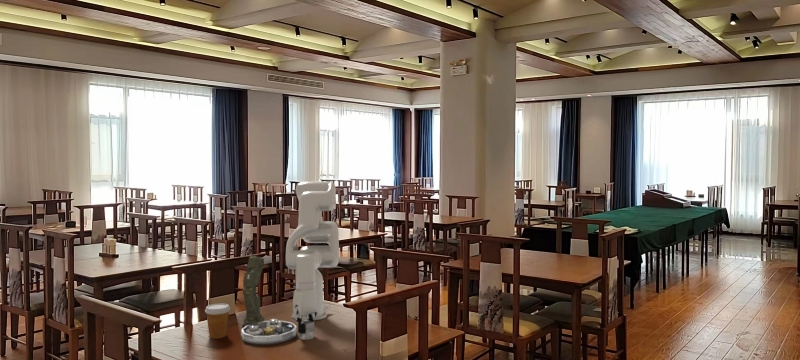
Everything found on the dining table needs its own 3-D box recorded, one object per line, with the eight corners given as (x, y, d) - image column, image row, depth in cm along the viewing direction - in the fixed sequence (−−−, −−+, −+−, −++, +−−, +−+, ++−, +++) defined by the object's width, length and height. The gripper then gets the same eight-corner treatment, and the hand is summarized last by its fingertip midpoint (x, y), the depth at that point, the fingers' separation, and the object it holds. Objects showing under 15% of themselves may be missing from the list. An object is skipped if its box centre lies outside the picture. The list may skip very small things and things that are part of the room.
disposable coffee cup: (200, 338, 230) (199, 308, 230) (215, 331, 239) (215, 302, 238) (220, 340, 227) (219, 310, 226) (235, 333, 236) (234, 304, 235)
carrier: (271, 325, 247) (271, 314, 247) (307, 334, 235) (307, 322, 235) (230, 338, 230) (230, 326, 230) (267, 348, 218) (266, 335, 218)
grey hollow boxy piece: (306, 333, 235) (306, 319, 235) (317, 336, 232) (316, 321, 231) (295, 337, 230) (295, 322, 230) (306, 340, 227) (306, 325, 226)
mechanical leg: (251, 329, 239) (257, 255, 244) (235, 328, 240) (241, 254, 246) (265, 327, 252) (271, 257, 258) (249, 326, 253) (256, 257, 259)
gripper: (313, 280, 239) (314, 324, 240) (283, 288, 225) (283, 335, 226) (327, 282, 235) (327, 327, 235) (296, 290, 221) (297, 338, 222)
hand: (306, 330), depth 231 cm, fingers closed on grey hollow boxy piece, 4 cm apart
